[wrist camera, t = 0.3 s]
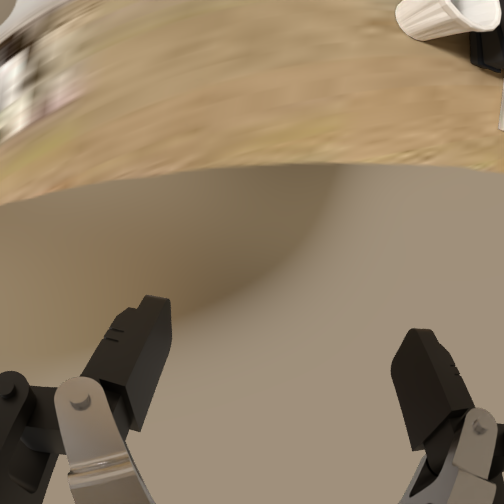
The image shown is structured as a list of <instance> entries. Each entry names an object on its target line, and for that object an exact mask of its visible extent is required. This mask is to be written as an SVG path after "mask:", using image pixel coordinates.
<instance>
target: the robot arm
mask: <svg viewBox="0 0 504 504" xmlns="http://www.w3.org/2000/svg"><path fill="white" fill-rule="evenodd" d="M171 342H172V326H171V305H170V300H169V299H167V298H162V297H156V296H151V295H146V296H145V297H144V298H143V300H142V302H141V303H140V305H139V307H138V308H137V309H135V308H127V309H126V310H124V311H123V312H122V313H120V314H119V315H118V316H116V318H115V319H114V321H113V323H112V324H111V326H110V328H109V330H108V331H107V332H106V334H105V335H104V339H102V340H101V342H100V344H99V345H98V347H97V349H96V350H95V352H94V354H93V355H92V357H91V359H90V360H89V362H88V364H87V366H86V367H85V369H84V371H83V372H82V374H81V375H80V376H79V377H74V378H71V379H68V380H66V381H65V382H63V383H62V384H61V385H60V386H59V387H58V388H57V387H54V388H53V387H40V386H30V385H29V383H28V382H27V380H26V378H25V377H24V376H23V375H22V374H20V373H18V372H15V371H7V372H3V373H1V374H0V504H42V502H43V499H44V496H45V493H46V490H47V487H48V484H49V481H50V478H51V475H52V472H53V469H54V467H55V464H56V461H57V458H58V456H59V454H63V455H67V458H68V461H69V465H70V472H69V473H68V483H69V486H70V489H71V493H72V495H73V498H74V501H75V504H156V503H155V502H154V500H153V498H152V497H151V495H150V493H149V491H148V489H147V487H146V485H145V483H144V481H143V479H142V477H141V475H140V473H139V471H138V469H137V467H136V464H135V462H134V460H133V458H132V456H131V454H130V451H129V449H128V447H127V444H126V442H125V440H126V437H127V434H128V432H129V429H131V430H134V431H138V432H140V431H141V429H142V426H143V423H144V420H145V417H146V414H147V411H148V408H149V406H150V403H151V400H152V397H153V394H154V392H155V389H156V386H157V384H158V381H159V378H160V375H161V373H162V370H163V367H164V365H165V362H166V359H167V357H168V354H169V351H170V347H171ZM459 374H460V373H459V371H458V369H457V367H455V363H454V361H453V359H452V357H451V355H450V353H449V352H448V351H447V350H446V349H445V348H444V347H443V346H442V345H441V344H439V342H438V340H437V338H436V336H435V335H434V333H433V331H432V330H430V329H415V328H413V329H410V330H409V331H408V333H407V334H406V336H405V338H404V340H403V342H402V344H401V346H400V348H399V350H398V351H397V353H396V355H395V357H394V359H393V361H392V365H391V377H392V380H393V383H394V386H395V389H396V393H397V396H398V400H399V403H400V407H401V410H402V413H403V417H404V421H405V425H406V428H407V432H408V436H409V440H410V444H411V448H412V451H418V450H424V449H425V452H426V454H425V455H424V456H423V458H422V459H421V461H420V463H419V465H418V467H417V470H416V472H415V474H414V476H413V478H412V480H411V482H410V484H409V486H408V488H407V490H406V492H405V493H404V495H403V497H402V499H401V501H400V502H399V503H398V504H504V481H503V477H502V472H504V424H497V423H496V421H495V419H494V417H493V416H492V415H491V414H490V413H489V412H488V411H486V410H485V409H482V408H475V405H474V403H473V401H472V399H471V396H470V394H469V392H468V390H467V388H466V385H465V383H464V381H463V379H462V377H461V376H460V375H459Z"/></svg>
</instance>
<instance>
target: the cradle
mask: <svg viewBox="0 0 504 504" xmlns="http://www.w3.org/2000/svg"><path fill="white" fill-rule="evenodd" d="M498 129H499V130H501V131H503V132H504V80H503V92H502V102H501V110H500V118H499V125H498Z"/></svg>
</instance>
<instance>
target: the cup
mask: <svg viewBox="0 0 504 504" xmlns="http://www.w3.org/2000/svg"><path fill="white" fill-rule="evenodd" d="M395 13H396V20H397V22H398V24H399V26H400V28H401V29H402V30H403V31H404V32H405V33H406V34H407V35H409V36H410V37H412V38H414V39H416V40H421V41H426V40H430V39H435V38H439V37H444V36H449V35H453V34H459V33H464V32H470V31H475V32H486V31H493V30H494V29H495V28H496V27H497V26H498V25H499V24H500V20H501V8H500V3H499V0H403V1H402V2H401V3H399V4H398V5H397V8H396V11H395Z"/></svg>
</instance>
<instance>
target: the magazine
mask: <svg viewBox="0 0 504 504" xmlns="http://www.w3.org/2000/svg"><path fill="white" fill-rule="evenodd" d="M499 3H500V8H501V20H500V24H499V25H498V26H497V27H496V28H495V29H494V30H493V31H486V32H475V31H470V45H471V60H470V62H471V63H472V64H474V65H476V66H479V67H481V68H484V69H489V70H492V71H494V72H497V73H501V69H504V0H499Z"/></svg>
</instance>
